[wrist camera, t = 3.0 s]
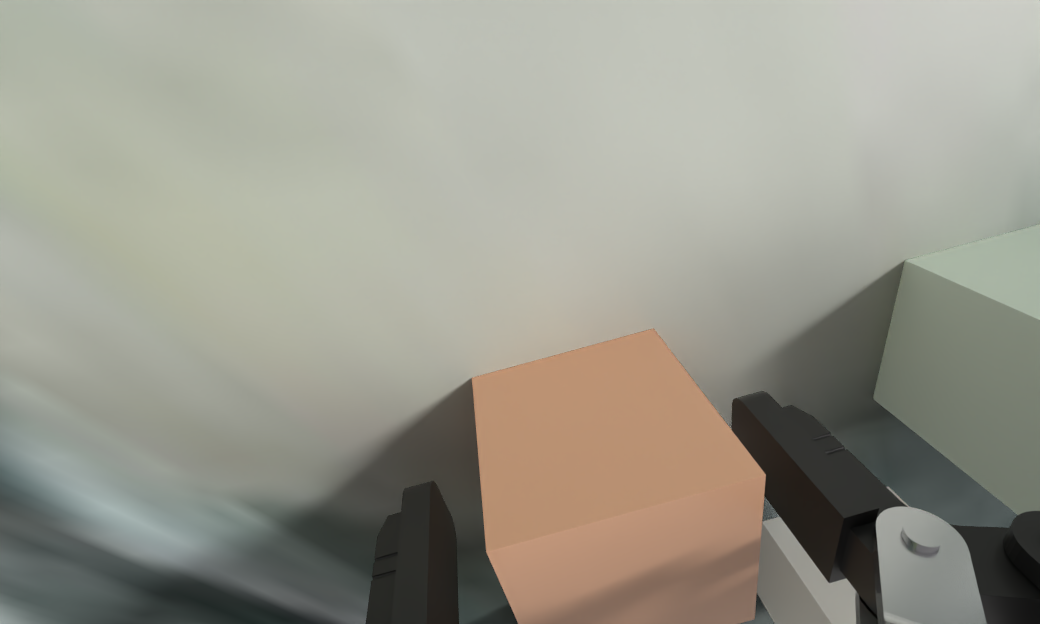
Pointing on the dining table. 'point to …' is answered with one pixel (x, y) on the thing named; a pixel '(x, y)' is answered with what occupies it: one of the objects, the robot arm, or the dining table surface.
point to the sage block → (972, 360)
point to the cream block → (799, 582)
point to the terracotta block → (616, 490)
